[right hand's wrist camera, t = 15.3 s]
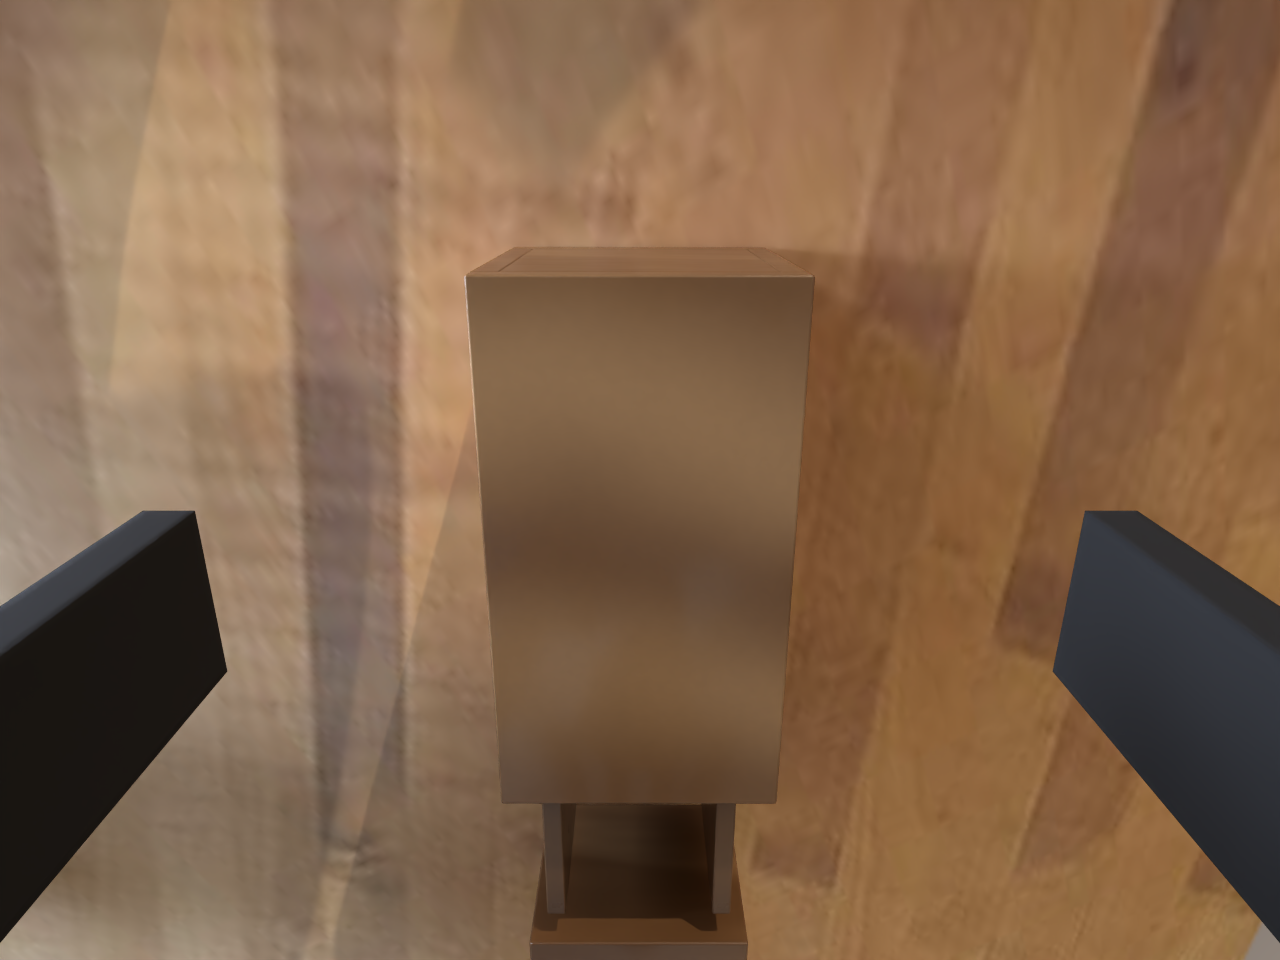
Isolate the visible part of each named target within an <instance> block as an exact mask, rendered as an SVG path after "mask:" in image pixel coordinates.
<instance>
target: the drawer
mask: <svg viewBox="0 0 1280 960" xmlns="http://www.w3.org/2000/svg"><path fill="white" fill-rule="evenodd" d="M735 809H736V804H701V805H682V804H577V803H542V812H543V832H544V848H543V854H542V861H541V868H540V875H539V882H538V889H537V896H536V903H535V910H534V917H533V924H532V931H531V938H530V956H531V960H747V950H748V941H747V934H746V927H745V920H744V912H743V905H742V898H741V891H740V884H739V877H738V870H737V863H736V856H735V849H734V828H735Z"/></svg>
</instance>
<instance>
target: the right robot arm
mask: <svg viewBox="0 0 1280 960" xmlns="http://www.w3.org/2000/svg"><path fill="white" fill-rule="evenodd" d="M226 672H227V668H226V663H225V658H224V653H223V648H222V643H221V638H220V633H219V628H218V623H217V618H216V613H215V608H214V603H213V598H212V593H211V588H210V583H209V578H208V574H207V569H206V564H205V559H204V554H203V549H202V544H201V539H200V534H199V529H198V524H197V519H196V514H195V511H142V512H140V513H139V514H137V515H136V516H134V517H133V518H131V519H130V520H129V521H127V522H126V523H124V524H123V525H121V526H120V527H118V528H117V529H115V530H114V531H112V532H111V533H109V534H108V535H106V536H105V537H103V538H102V539H100V540H99V541H97V542H96V543H94V544H93V545H91V546H90V547H88V548H87V549H85V550H84V551H82V552H81V553H79V554H78V555H76V556H75V557H73V558H72V559H70V560H69V561H67V562H66V563H64V564H63V565H61V566H60V567H58V568H57V569H55V570H54V571H52V572H51V573H49V574H48V575H46V576H45V577H43V578H42V579H40V580H39V581H37V582H36V583H34V584H33V585H31V586H30V587H28V588H27V589H25V590H24V591H22V592H21V593H19V594H18V595H16V596H15V597H14V598H12V599H11V600H9V601H8V602H6V603H5V604H3V605H2V606H0V942H1V941H2V940H3V939H4V938H5V936H6V935H7V934H8V933H9V932H10V930H11V929H12V928H13V927H14V926H15V924H16V923H17V922H18V921H19V920H20V919H21V917H22V916H23V915H24V914H25V913H26V911H27V910H28V909H29V908H30V907H31V905H32V904H33V903H34V902H35V901H36V899H37V898H38V897H39V896H40V895H41V893H42V892H43V891H44V890H45V889H46V887H47V886H48V885H49V884H50V883H51V881H52V880H53V879H54V878H55V877H56V875H57V874H58V873H59V872H60V871H61V870H62V868H63V867H64V866H65V865H66V864H67V862H68V861H69V860H70V859H71V858H72V856H73V855H74V854H75V853H76V852H77V850H78V849H79V848H80V847H81V846H82V844H83V843H84V842H85V841H86V840H87V838H88V837H89V836H90V835H91V834H92V832H93V831H94V830H95V829H96V828H97V826H98V825H99V824H100V823H101V822H102V820H103V819H104V818H105V817H106V816H107V815H108V813H109V812H110V811H111V810H112V809H113V807H114V806H115V805H116V804H117V803H118V801H119V800H120V799H121V798H122V797H123V795H124V794H125V793H126V792H127V791H128V789H129V788H130V787H131V786H132V785H133V783H134V782H135V781H136V780H137V779H138V777H139V776H140V775H141V774H142V773H143V771H144V770H145V769H146V768H147V767H148V766H149V764H150V763H151V762H152V761H153V760H154V758H155V757H156V756H157V755H158V754H159V752H160V751H161V750H162V749H163V748H164V746H165V745H166V744H167V743H168V742H169V740H170V739H171V738H172V737H173V736H174V734H175V733H176V732H177V731H178V730H179V728H180V727H181V726H182V725H183V724H184V722H185V721H186V720H187V719H188V718H189V717H190V715H191V714H192V713H193V712H194V711H195V709H196V708H197V707H198V706H199V705H200V703H201V702H202V701H203V700H204V699H205V697H206V696H207V695H208V694H209V693H210V691H211V690H212V689H213V688H214V687H215V685H216V684H217V683H218V682H219V681H220V679H221V678H222V677H223V676H224V675H225V673H226ZM1053 672H1054V673H1055V675H1056V676H1057V677H1058V678H1059V679H1060V681H1061V682H1062V683H1063V684H1064V685H1065V687H1066V688H1067V689H1068V690H1069V691H1070V693H1071V694H1072V695H1073V696H1074V697H1075V699H1076V700H1077V701H1078V702H1079V703H1080V705H1081V706H1082V707H1083V708H1084V709H1085V711H1086V712H1087V713H1088V714H1089V715H1090V717H1091V718H1092V719H1093V720H1094V721H1095V722H1096V724H1097V725H1098V726H1099V727H1100V728H1101V730H1102V731H1103V732H1104V733H1105V734H1106V736H1107V737H1108V738H1109V739H1110V740H1111V742H1112V743H1113V744H1114V745H1115V746H1116V748H1117V749H1118V750H1119V751H1120V752H1121V754H1122V755H1123V756H1124V757H1125V758H1126V760H1127V761H1128V762H1129V763H1130V764H1131V766H1132V767H1133V768H1134V769H1135V770H1136V771H1137V773H1138V774H1139V775H1140V776H1141V777H1142V779H1143V780H1144V781H1145V782H1146V783H1147V785H1148V786H1149V787H1150V788H1151V789H1152V791H1153V792H1154V793H1155V794H1156V795H1157V797H1158V798H1159V799H1160V800H1161V801H1162V803H1163V804H1164V805H1165V806H1166V807H1167V809H1168V810H1169V811H1170V812H1171V813H1172V815H1173V816H1174V817H1175V818H1176V819H1177V820H1178V822H1179V823H1180V824H1181V825H1182V826H1183V828H1184V829H1185V830H1186V831H1187V832H1188V834H1189V835H1190V836H1191V837H1192V838H1193V840H1194V841H1195V842H1196V843H1197V844H1198V846H1199V847H1200V848H1201V849H1202V850H1203V852H1204V853H1205V854H1206V855H1207V856H1208V858H1209V859H1210V860H1211V861H1212V862H1213V864H1214V865H1215V866H1216V867H1217V868H1218V870H1219V871H1220V872H1221V873H1222V874H1223V875H1224V877H1225V878H1226V879H1227V880H1228V881H1229V883H1230V884H1231V885H1232V886H1233V887H1234V889H1235V890H1236V891H1237V892H1238V893H1239V895H1240V896H1241V897H1242V898H1243V899H1244V901H1245V902H1246V903H1247V904H1248V905H1249V907H1250V908H1251V909H1252V910H1253V911H1254V913H1255V914H1256V915H1257V916H1258V917H1259V919H1260V920H1261V921H1262V922H1263V923H1264V924H1265V926H1266V927H1267V928H1268V929H1269V930H1270V932H1271V933H1272V934H1273V935H1274V936H1275V938H1276V939H1277V940H1278V941H1279V942H1280V606H1278V605H1277V604H1275V603H1274V602H1272V601H1271V600H1269V599H1268V598H1266V597H1265V596H1264V595H1262V594H1261V593H1259V592H1258V591H1256V590H1255V589H1253V588H1252V587H1250V586H1249V585H1247V584H1246V583H1244V582H1243V581H1241V580H1240V579H1238V578H1237V577H1235V576H1234V575H1232V574H1231V573H1229V572H1228V571H1226V570H1225V569H1223V568H1222V567H1220V566H1219V565H1217V564H1216V563H1214V562H1213V561H1211V560H1210V559H1208V558H1207V557H1205V556H1204V555H1202V554H1201V553H1199V552H1198V551H1196V550H1195V549H1193V548H1192V547H1190V546H1189V545H1187V544H1186V543H1184V542H1183V541H1181V540H1180V539H1178V538H1177V537H1175V536H1174V535H1172V534H1171V533H1169V532H1168V531H1166V530H1165V529H1163V528H1162V527H1160V526H1159V525H1157V524H1156V523H1154V522H1153V521H1151V520H1150V519H1149V518H1147V517H1146V516H1144V515H1143V514H1141V513H1140V512H1138V511H1085V514H1084V519H1083V524H1082V529H1081V534H1080V539H1079V544H1078V549H1077V554H1076V559H1075V564H1074V569H1073V574H1072V578H1071V583H1070V588H1069V593H1068V598H1067V603H1066V608H1065V613H1064V618H1063V623H1062V628H1061V633H1060V638H1059V643H1058V648H1057V653H1056V658H1055V663H1054V668H1053Z"/></svg>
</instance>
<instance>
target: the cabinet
mask: <svg viewBox="0 0 1280 960" xmlns="http://www.w3.org/2000/svg"><path fill="white" fill-rule="evenodd" d="M464 281H465V295H466V309H467V323H468V337H469V351H470V366H471V380H472V394H473V408H474V422H475V436H476V450H477V464H478V478H479V492H480V506H481V520H482V535H483V549H484V563H485V577H486V591H487V605H488V619H489V633H490V647H491V661H492V675H493V689H494V703H495V718H496V732H497V746H498V760H499V774H500V788H501V801H502V803H636V804H775V803H776V800H777V787H778V773H779V759H780V746H781V732H782V718H783V705H784V691H785V677H786V664H787V650H788V636H789V623H790V609H791V595H792V582H793V568H794V554H795V541H796V527H797V513H798V500H799V486H800V472H801V459H802V445H803V431H804V418H805V404H806V390H807V377H808V363H809V349H810V336H811V322H812V308H813V295H814V281H815V277H814V275H812V274H810V273H809V272H807V271H805V270H804V269H802V268H800V267H798V266H796V265H795V264H793V263H791V262H789V261H788V260H786V259H784V258H782V257H781V256H779V255H777V254H775V253H773V252H772V251H770V250H768V249H766V248H559V247H515V248H513V249H510V250H509V251H507V252H505V253H503V254H501V255H500V256H498V257H496V258H494V259H492V260H491V261H489V262H487V263H485V264H483V265H482V266H480V267H478V268H476V269H474V270H473V271H471V272H470V273H468V274H466V275H465V276H464Z"/></svg>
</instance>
